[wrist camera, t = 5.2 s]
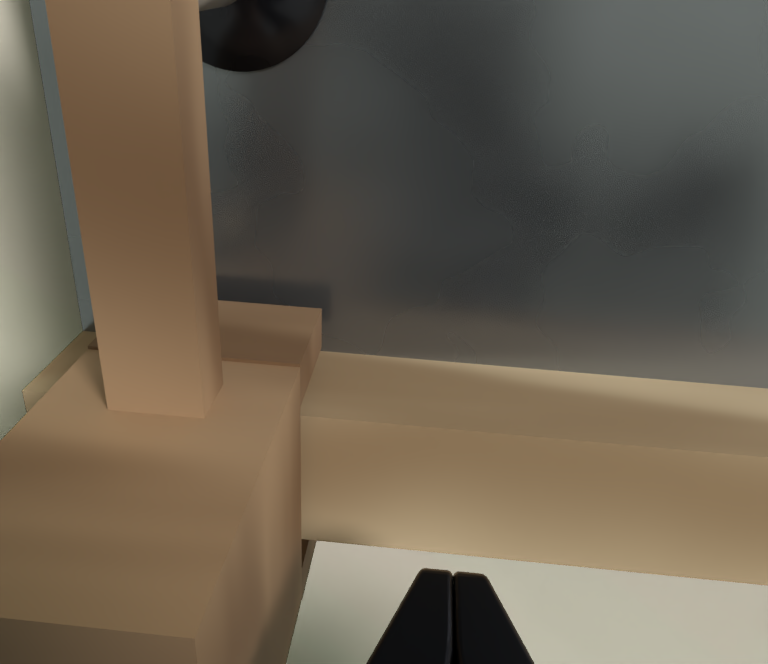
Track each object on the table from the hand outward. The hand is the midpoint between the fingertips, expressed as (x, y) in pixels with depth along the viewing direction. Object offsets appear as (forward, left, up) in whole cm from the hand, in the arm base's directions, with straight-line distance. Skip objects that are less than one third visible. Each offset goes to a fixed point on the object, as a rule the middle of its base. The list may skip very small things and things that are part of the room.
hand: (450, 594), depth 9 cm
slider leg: (+3, +4, -4) cm, 6 cm away
